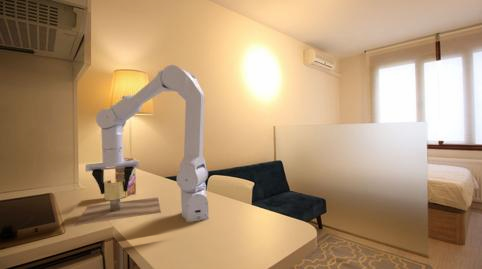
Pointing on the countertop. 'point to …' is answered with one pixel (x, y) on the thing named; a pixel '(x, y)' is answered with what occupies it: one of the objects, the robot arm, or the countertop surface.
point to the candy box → (132, 181)
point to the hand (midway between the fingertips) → (114, 192)
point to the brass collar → (114, 190)
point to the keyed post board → (119, 210)
